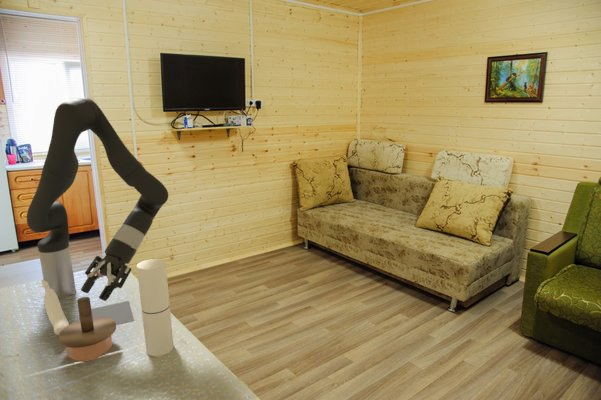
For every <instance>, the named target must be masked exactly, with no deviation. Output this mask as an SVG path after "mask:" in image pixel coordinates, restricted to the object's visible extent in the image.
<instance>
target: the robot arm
mask: <svg viewBox="0 0 601 400" xmlns="http://www.w3.org/2000/svg"><path fill="white" fill-rule="evenodd" d="M89 130H91V132H92V133H93V134H94V135H96V136H97V138H98V139H99V140H100V142H101V143H102V146H103V148H104V150H105V151H104V152H105V153H106V154H105V155H106V157H107V160H108V163H109V164H110V167H111V168H112V169H113V170H114V172H115V173H116V174H117V175H118V176H119V177H120V179H122V180H123V182H124V183H125V184H126V185H127V186H128V187H133V188H134V189H135V190H136V191H137V192H138V193H139V194H140V197H139V198H138V200H137V202H136V204H135V205H134V207H133V209H132V210H131V211H130V212H129V214H128V215H127V216H126V218H125V220H124V221H123V223H122V225H121V226H119V228H118V229H117V231H116V233H115V234H114V236H113V237H112V239H111V240H110V242H109V243H108V245H107V246H106V248H105V249H104V253H105V255H104V257H101V256H99V255H96V256H95V257H94V259H93V261H92V262H91V263H90V264H89V266H88V268H87V269H86V270H85V272H84V274H85V275H86V278H87V279H85V281H84V283H83V285H82V286H81V289H80V291H81V292H83V293H84V294H89V293H90V291H91V290H92V288H93V287H94V285H95V283H96V282H97V280H99V279H100V278H104V277H106V278H107V285H105V286H104V288H103V290H102V291H101V293H100V294H99V296H98V299H100V300H101V301H104V302H106V301H107V300H108V299H109V298H110V296H111V295H112V293H113V291H114V290H115V289H117V288H118V289H122V288H123V286H124V285H125V283H126V281H127V279H128V277H129V276H130V274H131V271H132V268H131V267H130V266H128V264H130V263H131V262H132V259H133V258H134V256H135V255H136V252H137V251H138V249H139V248H140V246H141V245H142V243H143V241H144V238H145V236H146V235H147V233H148V231H149V229H150V228H151V226H152V224H153V220H154V219H155V218H156V216H157V214H158V212H159V211H160V210H161V208H162V207H163V206H164V205H165V204H166V202H167V201H168V199H169V191H168V189H167V188H166V187H165V185H164V184H163V182H161V181H160V180H159V179H158V178H156V177H155V175H153V174H152V173H150V172H149V171H148V170H147V169H146V168H145V166H143V164H142V163H141V162H139V160H138V159H137V158H136V157H135V156H134V155H133V153H132V152H131V151H130V150H129V149H128V147H127V146H126V144H125V143H124V142H123V141H122V139H121V138H120V136H119V134H118V133H117V132H116V130H115V128H114V127H113V125H112V124H111V123H110V121H109V119H108V118H107V116H106V115H105V113H104V112H103V110H102V109H101V108H100V106H99V105H98V104H97V103H96V102H95V101H94V100H93V99H90V98H89V97H78V98H75V99H69V100H68V101H64V102H62V103H60V104H59V105H58V106H57V107H56V109H55V112H54V118H53V125H52V133H51V139H50V143H49V146H48V149H47V153H46V156H45V161H44V162H43V163H44V164H43V167H42V169H41V170H42V171H41V174H40V179H39V182H38V185H37V187H36V191H35V193H34V196H33V198H32V199H31V201H30V205H29V206H28V208H27V212H26V223H27V226H28V228H29V230H30V231H32V232H34V233H44V232H48V231H49V232H48V233H47V235H45V237H44V238H42V239H41V240H39V241H38V242H37V251H38V255H39V256H38V257H39V261H40V266H41V272H42V273H41V275H42V277H43V279H42V280H45V281H46V282H48V285H49V287H50V288H51V289H52V290H54V292H55V293H56V295H57V297H58V299H62V298H67V297H69V296H72V295H74V294H75V293H76V291H77V289H76V284H75V283H76V282H75V275H74V269H73V263H72V262H73V261H72V257H71V256H72V255H71V249H70V244H69V243H70V229H69V220H68V219H69V218H68V213H67V209H66V207H65V206H64V205H63V203H62V202H60V201H57V200H58V199H60V198H61V197H62V196H63V195H64V194H65V193H66V192H67V191H68V190H69V189H70V188H71V187H72V185H73V184H74V182H75V179H76V177H77V174H78V170H79V159H78V156H77V154H76V152H75V147H76V144H77V142H78V139H79V137H80V136H81V134H82V133H83V132H86V131H89ZM92 270H93V271H92ZM44 291H45V292H46V290H45V289H44Z"/></svg>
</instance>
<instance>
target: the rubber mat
mask: <svg viewBox="0 0 601 400" xmlns="http://www.w3.org/2000/svg"><path fill="white" fill-rule="evenodd" d="M91 311H92V317H109V318H112V319H113V320H114V321H115V322H116V326H118V325H123V324H126V323H132V322H135V318H134V315H133V311H132V308H131V304H130V301H129V300H127V301H121V302H116V303H112V304H107V305H102V306H99V307H93V308H91ZM78 317H79V319H78V321H79V320H80V316H79V315H78Z"/></svg>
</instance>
